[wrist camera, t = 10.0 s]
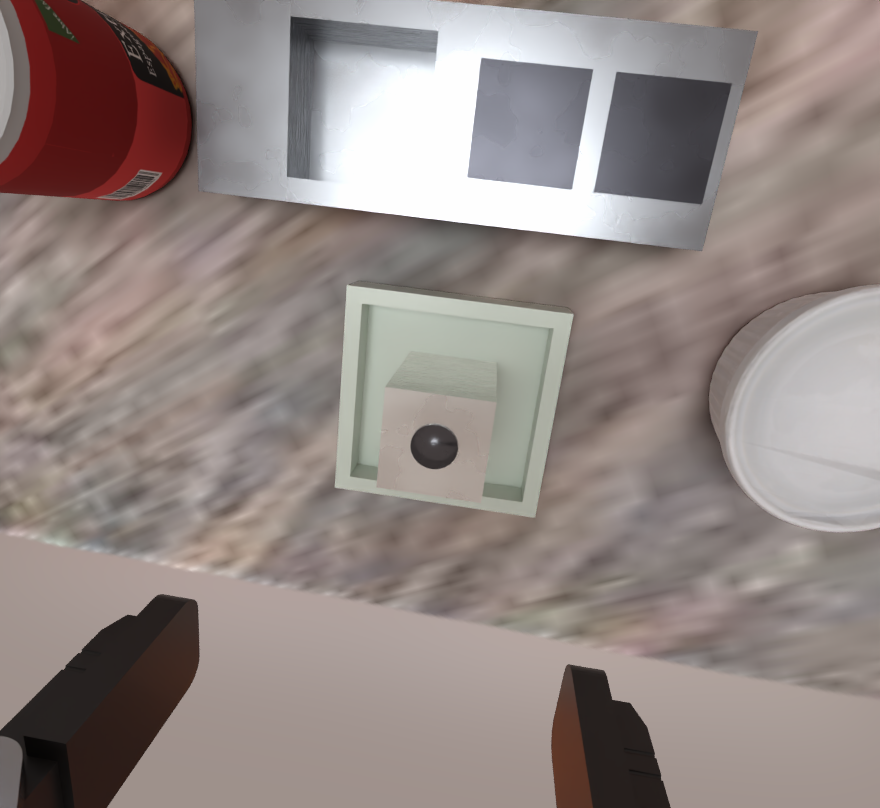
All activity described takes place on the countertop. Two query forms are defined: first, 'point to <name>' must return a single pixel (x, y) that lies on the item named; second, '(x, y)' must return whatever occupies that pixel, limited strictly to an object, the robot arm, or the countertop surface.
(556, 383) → the parts tray
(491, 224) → the grey compartment tray
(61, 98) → the canned food
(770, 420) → the ramekin
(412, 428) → the cube with dark knob
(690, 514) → the countertop surface
